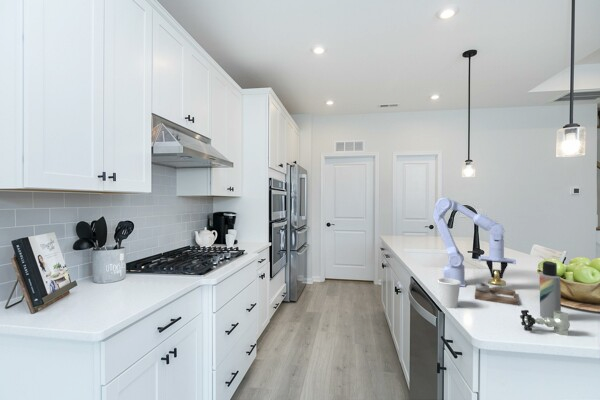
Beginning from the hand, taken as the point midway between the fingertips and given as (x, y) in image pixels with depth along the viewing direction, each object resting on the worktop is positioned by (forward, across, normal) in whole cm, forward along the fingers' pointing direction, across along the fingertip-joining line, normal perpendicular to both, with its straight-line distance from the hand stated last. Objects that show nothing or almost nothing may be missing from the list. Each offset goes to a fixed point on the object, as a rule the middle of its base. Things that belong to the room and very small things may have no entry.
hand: (496, 277), depth 138 cm
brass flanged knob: (+3, 0, 0) cm, 3 cm away
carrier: (+6, -1, -13) cm, 14 cm away
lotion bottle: (+6, +15, -30) cm, 34 cm away
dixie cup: (+6, -17, -35) cm, 39 cm away
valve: (+6, +12, -45) cm, 47 cm away
